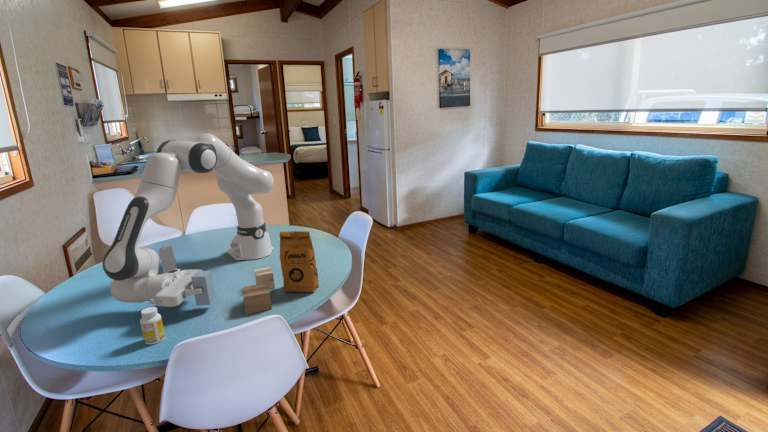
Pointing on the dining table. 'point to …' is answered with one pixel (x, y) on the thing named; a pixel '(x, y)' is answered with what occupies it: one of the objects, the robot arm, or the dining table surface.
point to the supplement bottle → (152, 326)
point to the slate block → (204, 287)
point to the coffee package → (298, 262)
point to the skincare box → (167, 258)
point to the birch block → (264, 276)
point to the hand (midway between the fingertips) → (206, 286)
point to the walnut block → (257, 298)
